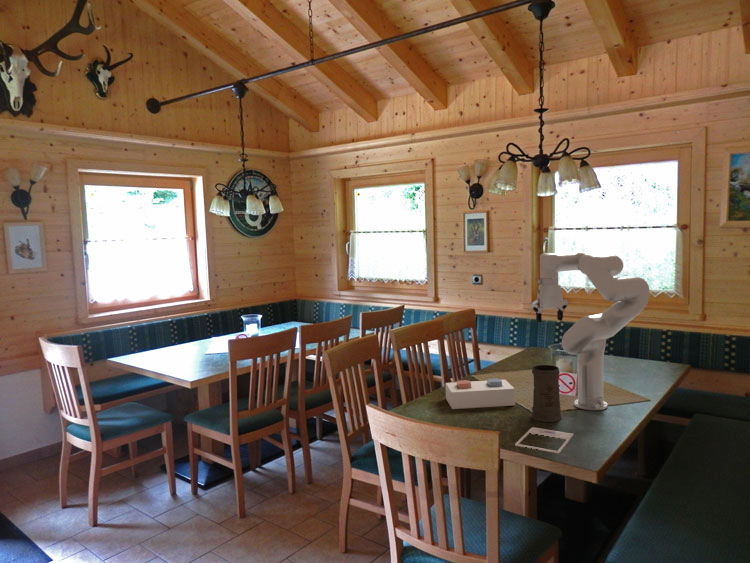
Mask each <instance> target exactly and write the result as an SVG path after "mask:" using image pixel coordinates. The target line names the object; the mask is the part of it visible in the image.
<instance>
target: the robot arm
mask: <svg viewBox="0 0 750 563" xmlns="http://www.w3.org/2000/svg"><path fill="white" fill-rule="evenodd" d="M623 269H624V262H623V260H622V259H621V258H620V256H618V255H616V254H610V253H590V252H589V253H588V252H561V253H555V252H545V253H541V254H540V255H539V279H537V283H538V284H539V285H538V288H537V293H536V294H537V296H536V299H535V300H532V302H530V303H529V305H530V307H531V308H532V310H533V311H534V313H535V319H536V322H538V323H542V322H543V320H542V318H543V317H542V316H543V314H542V313H541V312H542V311H543V310H550V309H557V311H556V312H557V314H556V316H557V317H556V318H557V320H558V321H560V322H561V321H563V319H564V311H565V310H566V308H567V307H568V304H569V302H570V301H569V300H567V299H565V298H563V291H562V286H561V284H560V283H559V273H560V272H569V271H580V273H582V274H583V275H586V277H587V278H588V280H589V281H590V283H591V284H592V285H593V286H594V287H595V289H596V291H597V292H598V293H599V294H600V296H602V298H603V299H605V300H606V301H608V302H613V304H611V306H609V308H607V309H606V310H605V311H603V312H601V313H597V314H591V315H585V316H583V317H581V318H579V319H578V320H577V321H576V322H575V323H574V324H573V325H572V326H571V327H569V328H568V330H566V331H565V332H564V334H563V336H562V339H561V346H562V348H563V350H564V352H566V353H568V354H569V355H573V356H574V355H575V356H576V355H579V357H578V359H577V399H575V400H574V401H573V405H574V407H576V408H578V409H581V410H585V411H603V410H605V409H607V408H608V407H609V406H608V405H609V403H608V402H607V401H605V400H604V356H605V349H606V344H607V339H610V338H612V337H614V336H615V335H616V334H617V333H618V332H619V331H621V330H622V329H623V328H624V327H625V326H627V324H629V323H630V322H632V320H634V318H636V317H637V316H639V314H641V313H642V312H643V311H644V309H645V308H646V306H647V305H648V303H649V300H650V292H651V291H650V286H649V284H648V282H647V281H646V280H645V279H644V278H641V277H640V276H635V275H634V276H631V275H629V276H621V277H616V276H619V274H620V273H621V272H623Z"/></svg>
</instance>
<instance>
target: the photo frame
mask: <svg viewBox="0 0 750 563" xmlns="http://www.w3.org/2000/svg"><path fill="white" fill-rule="evenodd" d="M529 433H531V434H529ZM535 434H538V435H537V436H540V435H544V436H543V437H546V436H549V437H548V438H552V437H555V438H554V439H558V438H560V440H564V439H565V441H564V442H563V443H562V445H561V446H560V447H559V448H558V450H554V449H549V448H542V447H538V446H537V447H536V446H533V445H531V446H530V445H527V444H521V442H522V441H523V440H524V439H525V438H526V437H528V435H535ZM574 436H575V435H574V433H572V432H571V433H570V432H566V431H565V432H564V431H557V430H553V429H552V430H551V429H547V428H540V427H534V426H532V427H531V428H529V429H528V431H526V433H525V434H524V435H522V436H521V437H520V438H519V439H518V441H516V443H515V444H514V446H515V447H521V448H525V447H527V448H526V449H531V448H532V450H536V449H538V450H537V451H541V452H542V451H543V452H548V453H553V454H558V455H559V454H560V453H561V452H562V450H564V448H565V446H566V445H568V443H569V442H570V440H571V439H572V438H573V437H574Z"/></svg>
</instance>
